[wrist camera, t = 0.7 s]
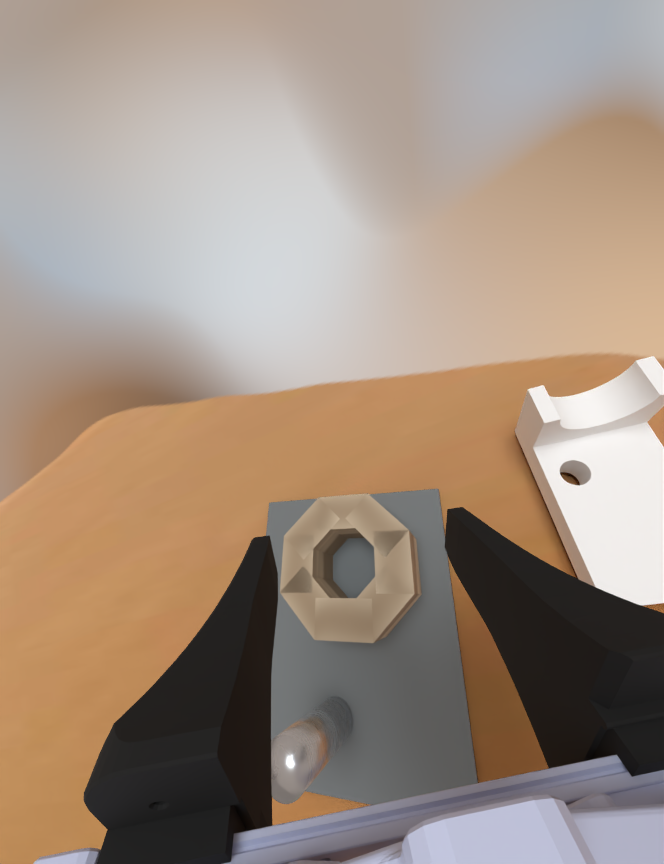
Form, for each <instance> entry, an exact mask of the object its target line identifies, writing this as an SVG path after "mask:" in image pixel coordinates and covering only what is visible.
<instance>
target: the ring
mask: <svg viewBox="0 0 664 864" xmlns="http://www.w3.org/2000/svg"><path fill="white" fill-rule="evenodd" d="M348 538H366V539H367V540H368V541H369V542H370V543H371V544H372V545H373V546H374V558H375V577H374V578H373V580H372V581H371V582H370V583H369V584H368V585H367V587H366V588H365V589H364V590H363V591H362V592H361V594H360V595H359V596H358V597H357V598H348V597H347V596H346V594H345V593H344V592H343V591H342V590H341V589H340V587H339V586H338V585H337V584H336V583H335V582H334V580H333V555H334V554H335V553H336V552H337V550H338V549H339V548H340V547H341V546H342V545H343V544H344V542H345V541H346V540H347V539H348ZM280 593H281V595H282V596H283V598H284V599H285V600H286V602H287V603H288V604H289V606H290V607H291V608H292V610H293V611H294V613H295V614H296V615H297V617H298V618H299V619H300V621H301V622H302V624H303V625H304V626H305V628H306V629H307V630H308V632H309V633H310V635H311V636H312V637H313V639H314V640H325V641H343V642H361V643H375V642H377V641H379V640H381V639H383V638H385V637H387V636H388V634H389V633H390V632H391V631H392V630H393V628H394V627H395V626H396V625H397V624H398V622H399V621H400V620H401V619H402V618H403V616H404V615H405V614H406V613H407V612H408V610H409V609H410V608H411V607H412V606H413V604H414V603H415V602H416V601H417V600H418V598H419V597H420V596H421V595H422V592H421V582H420V571H419V561H418V551H417V540H416V538H415V537H414V536H413V534H412V533H411V532H410V531H409V530H408V529H407V528H406V527H405V526H404V525H403V524H402V523H400V522H399V521H398V520H397V519H396V518H395V517H394V516H393V515H391V514H390V513H389V512H388V511H387V510H386V509H385V508H384V507H382V506H381V505H380V504H379V503H378V502H377V501H376V500H374V499H373V498H372V497H371V496H370V495H369V494H368V493H367V494H355V495H343V496H331V497H319V498H318V499H317V500H316V501H315V502H314V503H313V504H312V505H311V507H310V508H309V509H308V510H307V511H306V512H305V513H304V514H303V515H302V516H301V518H300V519H299V520H298V521H297V522H296V523H295V524H294V525H293V526H292V528H291V529H290V530H289V531H288V532H287V533H286V534H285V535H284V542H283V556H282V570H281V584H280Z"/></svg>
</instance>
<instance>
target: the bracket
mask: <svg viewBox="0 0 664 864" xmlns="http://www.w3.org/2000/svg"><path fill="white" fill-rule="evenodd" d="M663 406H664V369H663V368H662V367H661V365H660V364H659V363H658V361H657V360H656V359H655V357H654V356H652V357H648V358H644V359H640V360H637V361H635V362H634V363H633V364H632V365H631V367H629V368H628V369H627V370H626V371H625V372H623V373H622V374H621V375H619V376H618V377H616V378H614V379H613V380H611V381H609V382H607V383H605V384H603V385H601V386H599V387H597V388H594V389H592V390H589V391H586V392H583V393H580V394H576V395H572V396H566V397H551V396H549V395H548V393H547V391H546V389H545V387H544V385H542V386H539V387H535V388H531V389H528V390H527V394H526V397H525V400H524V403H523V406H522V410H521V413H520V416H519V419H518V423H517V426H516V429H515V434H516V436H517V438H518V440H519V443H520V445H521V447H522V450H523V452H524V454H525V457H526V459H527V461H528V464H529V466H530V468H531V471H532V473H533V475H534V478H535V480H536V482H537V484H538V487H539V489H540V491H541V494H542V496H543V498H544V501H545V503H546V505H547V508H548V510H549V512H550V515H551V517H552V519H553V521H554V524H555V526H556V528H557V531H558V533H559V535H560V538H561V540H562V542H563V545H564V547H565V549H566V552H567V554H568V556H569V558H570V561H571V563H572V565H573V568H574V570H575V572H576V575H577V577H578V579H579V580H581V581H583V582H585V583H587V584H590V585H592V586H594V587H596V588H598V589H601V590H603V591H605V592H608V593H610V594H613V595H615V596H618V597H620V598H623V599H625V600H628V601H630V602H633V603H635V604H638V605H650V604H659V603H664V447H663V446H662V444H661V443H660V441H659V440H658V438H657V437H656V435H655V433H654V432H653V430H652V429H651V427H650V426H649V424H648V423H647V422H648V421H649V420H650V419H651V418H652V417H653V416H654V415H655V414H656V413H657V412H658V411H659V410H660V409H661V408H662V407H663ZM561 472H566V473H570V474H572V475H574V476H575V477H576V478H577V479H578V481H579V484H580V485H572V484H570V483H568V482H566V481H565V480H564V479H563V478H562V477H561V475H560V473H561Z"/></svg>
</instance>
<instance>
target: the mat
mask: <svg viewBox="0 0 664 864" xmlns="http://www.w3.org/2000/svg"><path fill="white" fill-rule="evenodd" d="M370 496H371V497H372V498H373V499H374V500H376V501H377V502H378V503H379V504H380V505H381V506H382V507H384V508H385V509H386V510H387V511H388V512H389V513H390V514H391V515H393V516H394V517H395V518H396V519H397V520H398V521H399V522H400V523H402V524H403V525H404V526H405V527H406V528H407V529H408V530H409V531H410V532H411V533H412V534H413V536H414V537H415V538H416V540H417V551H418V561H419V571H420V582H421V592H422V595H421V596H420V597H419V598H418V600H417V601H416V602H415V603H414V604H413V606H412V607H411V608H410V609H409V610H408V612H407V613H406V614H405V615H404V616H403V618H402V619H401V620H400V621H399V622H398V624H397V625H396V626H395V627H394V628H393V630H392V631H391V632H390V633H389V634H388V636H387V637H385V638H383V639H381V640H379V641H377V642H375V643H361V642H343V641H325V640H314V639H313V637H312V636H311V635H310V633H309V632H308V630H307V629H306V628H305V626H304V625H303V624H302V622H301V621H300V619H299V618H298V617H297V615H296V614H295V613H294V611H293V610H292V608H291V607H290V606H289V604H288V603H287V602H286V600H285V599H284V598H283V596H282V595H281V593H280V584H281V570H282V556H283V542H284V535H285V534H286V533H287V532H288V531H289V530H290V529H291V528H292V526H293V525H294V524H295V523H296V522H297V521H298V520H299V519H300V518H301V516H302V515H303V514H304V513H305V512H306V511H307V510H308V509H309V508H310V507H311V505H312V504H313V503H314V502H315V501H316V500H317V499H309V500H297V501H284V502H272V503H269V511H268V522H267V532H266V536H269V535H270V539H271V544H272V549H273V553H274V558H275V562H276V567H277V572H278V606H277V617H276V627H275V637H274V648H273V658H272V673H271V740H272V739H273V738H275V737H276V736H277V735H279V734H280V733H281V732H283V731H284V730H285V729H287V728H288V727H289V726H291V725H292V724H293V723H295V722H296V721H298V720H299V719H300V718H302V717H303V716H304V715H306V714H307V713H308V712H310V711H311V710H312V709H314V708H315V707H316V706H318V705H319V704H320V703H322V702H323V701H324V700H326V699H327V698H329V697H332V696H336V697H340V698H342V699H343V700H344V701H345V702H346V703H347V704H348V705H349V707H350V709H351V712H352V715H353V729H352V732H351V734H350V736H349V737H348V739H347V740H346V741H345V742H344V744H343V745H342V746H341V747H340V749H339V750H338V751H337V752H336V753H335V755H334V756H333V757H332V758H331V760H330V761H329V762H328V763H327V764H326V766H325V767H324V768H323V769H322V771H321V772H320V773H319V774H318V776H317V777H316V778H315V779H314V780H313V782H312V783H311V784H310V785H309V787H308V788H307V789H306V790H305V791H307V792H312V793H317V794H322V795H326V796H331V797H336V798H341V799H346V800H351V801H356V802H361V803H366V804H370V805H375V804H380V803H385V802H390V801H394V800H399V799H404V798H409V797H414V796H419V795H423V794H428V793H433V792H438V791H443V790H448V789H452V788H457V787H462V786H467V785H472V784H477V783H478V781H477V773H476V766H475V758H474V751H473V744H472V736H471V729H470V721H469V714H468V706H467V699H466V691H465V684H464V676H463V669H462V661H461V654H460V646H459V639H458V632H457V624H456V617H455V609H454V602H453V594H452V587H451V579H450V572H449V564H448V557H447V552H446V550H445V534H444V527H443V519H442V512H441V505H440V497H439V490H438V489H430V490H418V491H406V492H394V493H382V494H370ZM374 577H375V558H374V546H373V545H372V544H371V543H370V542H369V541H368V540H367V539H366V538H348V539H347V540H346V541H345V542H344V544H343V545H342V546H341V547H340V548H339V549H338V550H337V552H336V553H335V554H334V555H333V580H334V582H335V583H336V584H337V585H338V586H339V587H340V589H341V590H342V591H343V592H344V593H345V594H346V596H347V597H348V598H357V597H358V596H359V595H360V594H361V592H362V591H363V590H364V589H365V588H366V587H367V585H368V584H369V583H370V582H371V581H372V580H373V578H374Z"/></svg>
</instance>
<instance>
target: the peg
mask: <svg viewBox="0 0 664 864" xmlns="http://www.w3.org/2000/svg"><path fill="white" fill-rule="evenodd" d="M352 729H353V715H352V712H351V709H350V707H349V705H348V704H347V703H346V702H345V701H344V700H343V699H342V698H340V697H336V696H332V697H329V698H327V699H326V700H324V701H323V702H322V703H320V704H319V705H318V706H316V707H315V708H314V709H312V710H311V711H310V712H308V713H307V714H306V715H304V716H303V717H302V718H300V719H299V720H298V721H296V722H295V723H293V724H292V725H291V726H289V727H288V728H287V729H285V730H284V731H283V732H281V733H280V734H279V735H277V736H276V737H275V738H273V739H272V740H271V785H272V797H273V798H274V799H275V800H276V801H278V802H279V803H282V804H290V803H293V802H295V801H296V800H297V799H298V798H299V797H300V796H301V795H302V794H303V793H304V791H305V790H306V789H307V788H308V787H309V785H310V784H311V783H312V782H313V780H314V779H315V778H316V777H317V776H318V774H319V773H320V772H321V771H322V769H323V768H324V767H325V766H326V764H327V763H328V762H329V761H330V760H331V758H332V757H333V756H334V755H335V753H336V752H337V751H338V750H339V749H340V747H341V746H342V745H343V744H344V742H345V741H346V740H347V739H348V737H349V736H350V734H351V732H352Z"/></svg>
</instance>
